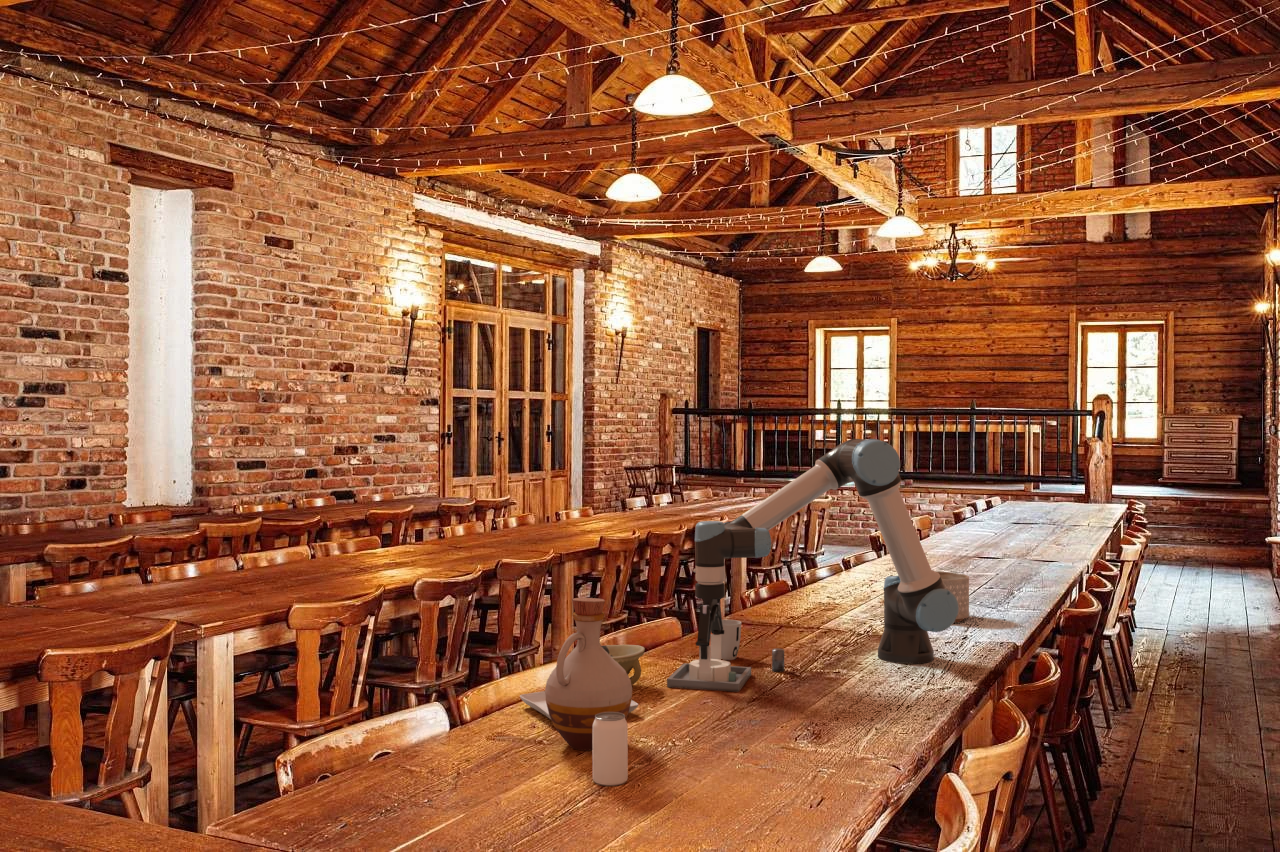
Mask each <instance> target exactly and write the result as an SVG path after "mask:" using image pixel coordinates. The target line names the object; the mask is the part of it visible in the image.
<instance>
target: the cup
mask: <svg viewBox="0 0 1280 852" xmlns="http://www.w3.org/2000/svg"><path fill="white" fill-rule="evenodd" d="M722 624H723V630H724V634H720V635H721V659H723V660H725V661H732V660H736V659H737V656H738V653H739V649H740V645H741V644H740V642H741V638H742V637H741V636H742V635H741V634H742V621H741V620H736V619H722Z"/></svg>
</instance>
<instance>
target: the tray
mask: <svg viewBox="0 0 1280 852" xmlns="http://www.w3.org/2000/svg"><path fill="white" fill-rule="evenodd" d="M689 663H690V662H689ZM689 663H688V662H687V663H686V662H685V663H682V664H681V665H680V666H679V667H678V668H677V669H676V670H675V671H674V672H673V673H672V674H670V675H669V677H667V678H666V687H667V688H675V689H676V688H677V689H691V690H703V691H704V690H706V691H720V692H721V691H723V692H734V693H735V692H736V693H739V692H740V690H741V689H742V688H743V687H744V685H746V683H747V681H748V680H749V679H750V678H751V676H752V666H736V665H735V666H734V665H731V672H736V680H735V681H728V682H720V681H705V680H690V679H689Z"/></svg>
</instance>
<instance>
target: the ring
mask: <svg viewBox="0 0 1280 852" xmlns="http://www.w3.org/2000/svg"><path fill="white" fill-rule="evenodd" d="M731 666H732V665H731V662H730V661H729V660H721V659H711V672H699V659H693V660H692V661H690V662H689V679H690V680H705V681H720V682H728V681H735V680H736V672H731Z"/></svg>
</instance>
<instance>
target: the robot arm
mask: <svg viewBox="0 0 1280 852" xmlns="http://www.w3.org/2000/svg"><path fill="white" fill-rule="evenodd" d="M900 469H901V460H900V456H899V454H898V451H897V450H896V448H894V447H893V446H892V445H891V444H889V443H888V442H886V441H884V440H880V439H877V438H868V439H867V438H866V439H865V438H864V439H863V438H851V439H847V440H845V441H844V442H842V443H840V444H838V445H836V446H835V447H833V449H831V450H830V451H828V452H827V453H825V454H824V455H823V456H821V457H819V458H818V459H816V460H815V464H814V466H813V467H812V468H810V469H808V470H807V471H805V472H804V473H802V474H801V475H799V476H798V477H796V478H795V479H793V480H791V481H790V482H789V483H787V484H786V485H785V486H782V487H781V488H780V489H778V490H777V491H775V492H773V493H772V494H771V495H770V496H767V498H764V499H763V500H762V501H760V502H759V503H758V504H756V505H755V506H752V507H751V508H750V509H749V510H746V511H745V512H744V513H742V514H741V515H739V516H738V517H736V518H735V519H733V520H732V521H726V522H723V521H720V520H703V521H699V522H697V523H696V525H695V529H694V531H695V532H694V551H695V552H694V554H695V555H694V556H695V557H694V558H695V559H694V560H695V562H694V563H695V568H693V570H692V571H693V573H695V581H696V583H695V587H694V588H695V590H694V591H695V594H694V595H695V597H696V599H700V600H703V602H702V604H700V606H699V619H698V620H699V621H698V630H697V639H696V642H695V646H696V647H698V650H699V651H698V652H699V653H698V656H699V657H698V660H699V672H711V659H721V635H720V634H724V630H723V624H722V620H723V618H722V617H723V616H722V608H721V600H722V599H723V598H726V597H725V596H726V584H725V583H724V582H725V581H726V562H725V561H726V559H741V558H742V559H745V558H746V559H747V558H755V559H758V558H764V557H768V556H770V553H771V551H772V550H771V549H772V536H771V533H770V530H772V529H773V528H774V527H776V526H778V525H779V524H780V523H782V522H783V521H785V520H786V519H788V518H789V517H791V516H792V515H794V514H795V513H797V512H798V511H800V510H801V509H803V508H804V507H806V506H807V505H809V504H811V503H812V502H814V501H815V500H817V499H818V498H820V497H821V496H822V495H824V494H825V493H827V492H828V491H830V490H834V491H836V490H838V489H840V488H842V487H843V486H845V485H847V484H850V483H853V484H854V486H855V488H856V491H857V493H858V495H859V497H860V498H862V499H865V500H866V501H867V502H868V505H869V507H870V509H871V511H872V514H873V517H874V519H875V522H876V524H877V527H878V529H879V531H880V534H881V536H882V539H883V541H884V545H885V546H886V549H887V551H888V553H889V555H890V558H891V561H892V564H893V565H894V567H895V571H896V573H897V575H889V576H886V577H885V579H884V584H883V613H884V614H883V619H884V620H883V622H884V623H883V625H884V627H883V628H884V629H883V632H882V635H881V638H880V641H879V644H878V647H877V657H878V659H880V660H883V661H886V662H892V663H899V664H925V663H931V662H933V661H934V659H935V658H934V657H935V656H934V655H935V654H934V652H935V651H934V649H933V648H934V647H933V644H932V642H931V640H930V636H929V632H933V633H940V632H943V631H947V629H949V628H951V626H952V625H954V623H955V622H954V621H955V619H956V617H957V615H958V609H959V607H958V601H957V599H956V597H955V596H954V595H953V594H952V593H951V592H950V591H949V590H947V589H945V586H944V584H943V581H942V579H941V576H940V574H939V573H938V572H939V571H935V570H933V569H932V568H931V566H930V563H929V560H928V558H927V556H926V553H925V551H924V548H923V546H922V542H921V541H920V538H919V536H918V534H917V531H916V529H915V526H914V522H913V521H912V519H911V518H912V517H911V516H910V513H909V511H908V509H907V505H906V504H905V501H904V498H903V497H902V494H901V491H900V489H899V488H900V486H901V483H902V478H901V476H900Z"/></svg>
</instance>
